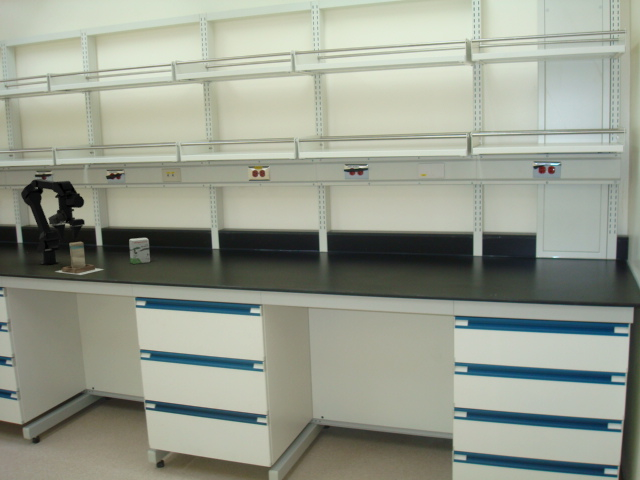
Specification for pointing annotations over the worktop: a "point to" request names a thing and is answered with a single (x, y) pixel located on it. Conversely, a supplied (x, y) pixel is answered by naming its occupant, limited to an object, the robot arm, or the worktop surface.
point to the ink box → (139, 250)
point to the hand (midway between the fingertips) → (68, 239)
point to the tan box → (77, 255)
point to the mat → (82, 272)
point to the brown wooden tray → (79, 270)
